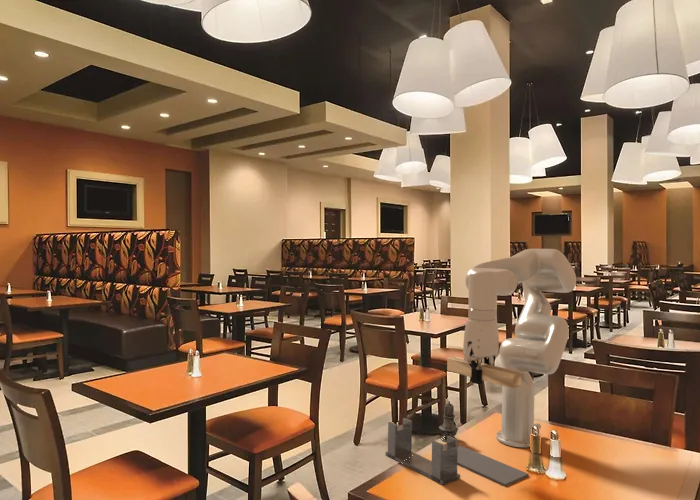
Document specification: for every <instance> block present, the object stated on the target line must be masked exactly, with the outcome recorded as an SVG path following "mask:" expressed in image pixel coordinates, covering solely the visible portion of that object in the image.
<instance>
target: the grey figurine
mask: <svg viewBox="0 0 700 500" xmlns="http://www.w3.org/2000/svg"><path fill="white" fill-rule="evenodd" d="M450 402H451V401H450V400H448V401H447V403H445V404H444V406H443V407H444V408H443V409H444V410H443V413H444V414H442V416H443V424H441V425H439V426H438V428H439V431H440V434H441V435H442V436H440V438H439V440H440V439H441V438H442V439H443V440H442V439H441V440H442V442H445V443H447V436H451V437H453V438H455V439H458V438H457V437H455V436H456V435H457V433H458V431H459V427H458V426H456V425H455V417H456V415H455V414H454V411H455V410H454V409H455V408H454V405H453V404H452V403H450ZM444 436H445V437H444ZM443 437H444V438H445V439H444V438H443ZM441 440H440V441H441Z"/></svg>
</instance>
